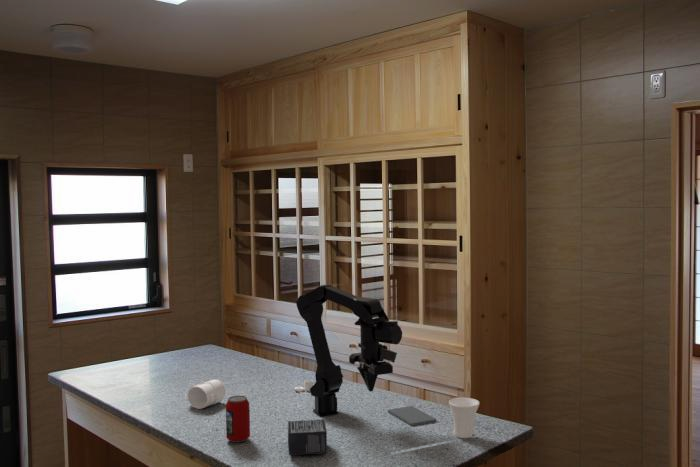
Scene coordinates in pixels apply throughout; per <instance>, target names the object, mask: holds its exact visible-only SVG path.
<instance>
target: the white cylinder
mask: <svg viewBox="0 0 700 467" xmlns="http://www.w3.org/2000/svg"><path fill="white" fill-rule="evenodd" d="M224 385H225V384H223V382H222V381H221V380H219V379H211V380H208V381H205V382H201V383H198V384H195V385H193V386H192V387H189V389H188V391H187V400H188V402H189V404H190V406H192V407H193V408H195V409H198V410H201V409H204V408H207V407H209V406H214V405H216V404H218V403H221V402H223V401H224V400H225V397H226V388H225V386H224Z"/></svg>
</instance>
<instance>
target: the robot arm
mask: <svg viewBox="0 0 700 467" xmlns="http://www.w3.org/2000/svg"><path fill="white" fill-rule="evenodd" d="M327 301H330V302H333V303H335V304H337V305H339V306H342V307H343V308H346V309H348V310H350V311H352V314H353V315H355V316H356V317H357V318H358V319H357V320H356V321H355V322H354V325H355V326H359V327H360V328H359V329H360V332H359V333H360V343H359V342H358V343H357V347H358V348H360V352H356V353H355V352H353V353H351V354H350V355H349V356H348V360H349V364H351V365H355V363H357V362H358V363H359V366H357V367H356V369H357V370H358V371H359V374H360V376H361V377H362V380H363V382H364V384H365V386H366V387H367V388H366V389H367V390H368V391H369V392H374V390H375V389H374V388H375V385H376V382H377V379H378V376H379V375H386V374H387V375H388V374H393V373H394V366H393V365H392V364H391V363H393V364H394V363H395V361H396V358H397V354H398V353H397V352H396V351H393V350H390V349H388V346H387V345H385V344H390V345H396V346H397V345H399V344H400V342H401V340H402V339H403V330H402V328H401V327H400V326H399V324H398V323H399V322H398V321H397V320H390V319H389V317H388V315H387V313H386V312H385V309H383V307H382V304H381V301H380V300H378V299H377V298H372V297H365V296H364V297H363V296H357V295H355V294H352V293H350V292H348V291H345V290H342V289H340V288H338V287H335V286H333V285H332V284H322V285H319V286H318V287H316V288H315V289H313V290H311V291H309V292H306V293H305V294H301V295H299V296H298V298H297V300H296V302H295V303H296V307H297V311H298V313H299V315H300V317H301V318H302V319H303V320H304V321H305V322H306V324H307V329H308V332H309V337H310V341H311V345H312V349H313V352H314V356H315V361H316V370H315V382H316V383H313V386H312V387H311V388H310V391H309V393H311V394H310V396H312V397H314V408H313V409H312V411H313V412H314V413H315V414H316V415H318V416H319V417H325V416H331V415H336V414H339V411H338V398H337V395H336V393H339V392H340V389H341V386H342V384H343V383H344V381H343V378H344V375H343V373H342V368H341V367H342V366H341V365H340V364H338V365H336V364H335V363H334V362H333V360H332V356H331V353H330V347H329V344H328V340H327V336H326V333H325V329H324V325H323V320H322V317H323V312H324V306H323V305H324V304H325V303H326V302H327ZM382 343H383V344H382ZM385 360H386V361H385ZM388 361H389V362H388ZM390 362H391V363H390Z"/></svg>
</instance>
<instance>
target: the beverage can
mask: <svg viewBox="0 0 700 467" xmlns="http://www.w3.org/2000/svg"><path fill="white" fill-rule="evenodd" d="M250 417H251V415H250V402H249V400H248V398H247V396H246V395H233V396H229V397H228V398H227V401H226V403H225V423H226V424H225V427H226V428H225V431H226V439H227V440H229V441H230V442H233V443H242V442H245V441H247V440H248V439H249V438H250V436H251V420H250V419H251V418H250Z"/></svg>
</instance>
